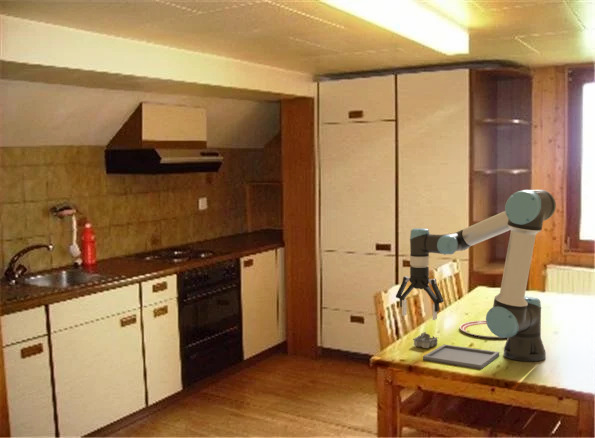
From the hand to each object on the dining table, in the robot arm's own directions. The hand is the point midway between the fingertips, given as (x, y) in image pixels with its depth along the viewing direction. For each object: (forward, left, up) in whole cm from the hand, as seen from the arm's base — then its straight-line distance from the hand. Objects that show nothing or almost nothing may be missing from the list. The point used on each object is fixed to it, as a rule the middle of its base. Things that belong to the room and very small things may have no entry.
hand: (419, 317), depth 256 cm
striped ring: (-18, -35, -13) cm, 41 cm away
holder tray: (-21, +8, -12) cm, 25 cm away
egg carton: (0, 0, -13) cm, 13 cm away
